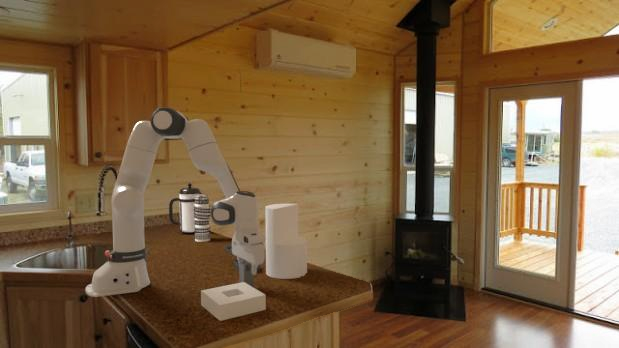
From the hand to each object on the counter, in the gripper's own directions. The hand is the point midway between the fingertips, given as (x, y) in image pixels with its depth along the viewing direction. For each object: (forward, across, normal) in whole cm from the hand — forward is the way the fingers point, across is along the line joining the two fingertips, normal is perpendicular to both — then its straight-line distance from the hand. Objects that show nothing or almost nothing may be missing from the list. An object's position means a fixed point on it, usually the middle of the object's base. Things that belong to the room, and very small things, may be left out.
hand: (247, 271), depth 165 cm
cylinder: (+7, -9, +22) cm, 25 cm away
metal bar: (+7, 0, -1) cm, 7 cm away
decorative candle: (+7, -87, +16) cm, 88 cm away
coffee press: (+7, -110, +16) cm, 111 cm away
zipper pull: (+7, -30, +12) cm, 33 cm away
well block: (+6, +14, -13) cm, 20 cm away
